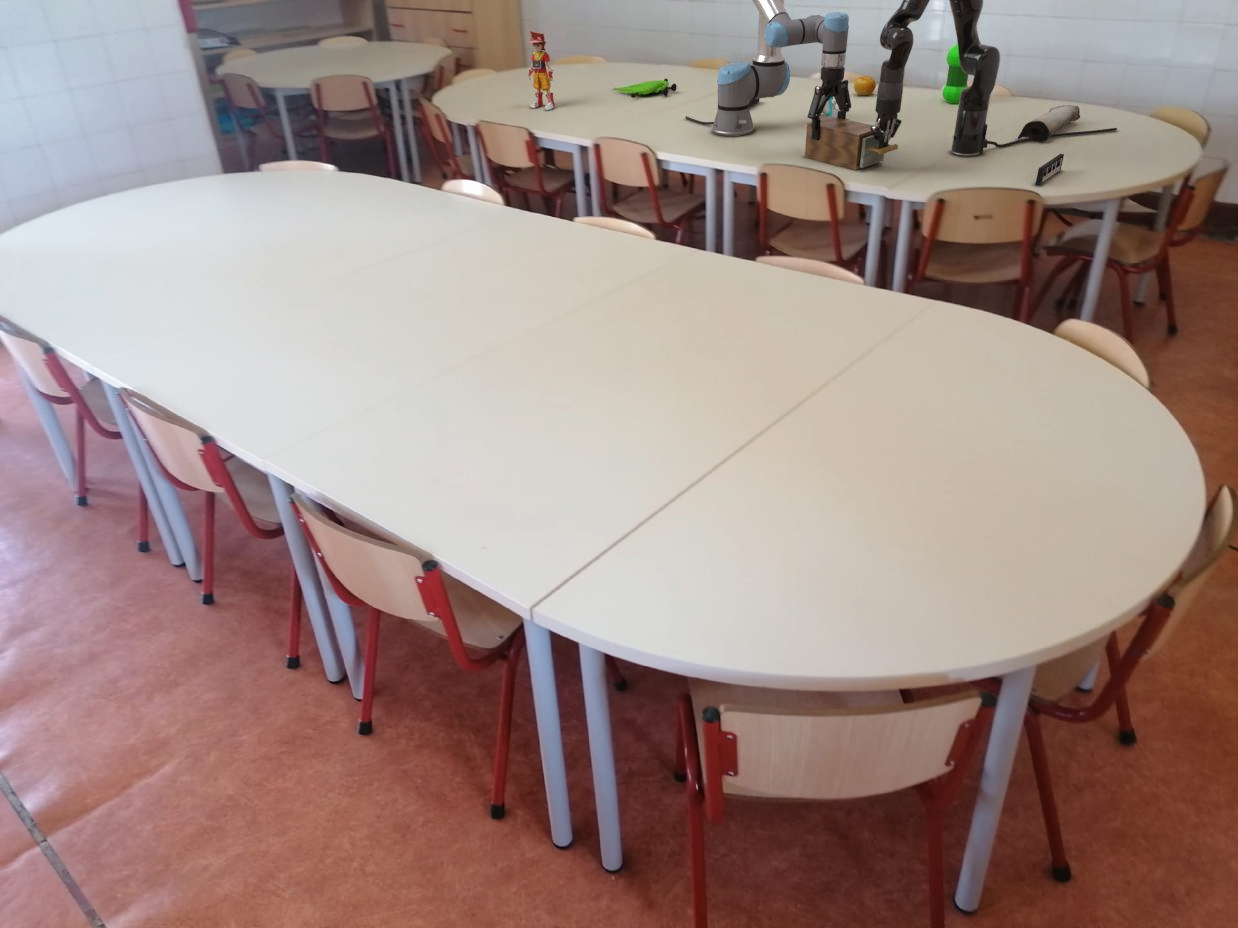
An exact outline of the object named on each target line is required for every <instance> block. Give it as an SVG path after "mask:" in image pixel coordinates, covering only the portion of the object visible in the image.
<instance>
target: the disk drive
mask: <svg viewBox="0 0 1238 928" xmlns="http://www.w3.org/2000/svg"><path fill="white" fill-rule="evenodd" d="M759 102H760V99H753V100H749V108H751V107H753V106H755V105H757V104H758V103H759Z"/></svg>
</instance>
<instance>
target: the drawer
mask: <svg viewBox="0 0 1238 928" xmlns="http://www.w3.org/2000/svg"><path fill="white" fill-rule="evenodd" d="M878 149H879V141H878V140H875V138H874V136H873V134H870V135H867V136H864V137H861V141H860V151H859V161H858V164H860V167H861V169H865V168H867V167H869V166H872V165H875V164H878V163H881V162H883V161H884V157H885V154H886V153H890V152H893V151H896V150H898V149H899V144H898V143H894V144H892V143H891V144H890V143H888V146H887V147H884V148H881V149H879V150H878ZM884 153H885V154H884Z"/></svg>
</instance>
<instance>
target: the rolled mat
mask: <svg viewBox="0 0 1238 928" xmlns="http://www.w3.org/2000/svg"><path fill="white" fill-rule="evenodd" d="M1080 113H1081V112H1080V107H1079V106H1078V105H1072V104H1065V105H1064V104H1063V105H1059V106H1053V107H1051V108H1050V109H1049V110H1048V112H1046V113H1044V114H1041V115H1039V116H1037V117H1035V118H1033V119H1032V120H1030V121H1029V122H1027V123H1025V124H1024V125H1023V127H1022V129H1021V131H1020V133H1019V134H1018V136H1017V140H1021V139H1023V138H1031V141H1034V142H1039V143H1044V142H1047V141H1048V139H1049V137H1050V136H1052V135H1053V134H1055V133H1056V132H1057V131H1058V130H1060V128H1062V127H1063V126H1065V124H1066V123H1071V122H1077V121H1079V119H1080V118H1081V115H1080ZM1050 138H1051V137H1050Z"/></svg>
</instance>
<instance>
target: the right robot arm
mask: <svg viewBox="0 0 1238 928" xmlns="http://www.w3.org/2000/svg"><path fill="white" fill-rule="evenodd" d="M930 2H931V0H902V2H901V4H900V5H899V7H898V8H897V9H896V10H895V12H894V13H893V14H892V15H891V16H890V18H889V19H888V20H887V22H886V23H885V24H884V26H883V28H882V30H881V32H880V35H879V43H880V46H881V47H882V48H883V49H885V50H887V51H890V52H891V53H890V56H889V58H887V59H885V60H884V61H882V63H881V67H880V74H879V82H878V86H877V91H876V92H877V94H876V102H875V113H876V114H877V116H876V119H875V123H874V126H871V127H870V129H871V131H872V134H873V136H874V138H875V140H878V141H879V149H881V148H884V147H887V146H888V144H889V142H890V141H891V139H894V137H895V136H896V134H897V132H898V130H899V128H900V126H901V124H902V122H903V121H902V119H899V118H898V114H899V113H900V112H901V108H902V102H903V101H902V100H903V93H904V80H905V79H904V78H905V71H906V65H907V63H908V60H909V57H910V54H911V52H912V49H913V46H914V33H913V31H912V29H911V28H910V27H908V26H910V24H911V23H914V22H917V21H919V20H920V19H921V18H922V16H923V14H924V12H925V11H926V8H927V7H928V5H929V3H930ZM948 2H949V6H950V11H951V15H952V18H953V24H954V30H955V35H956V39H957V41H956V44H957V43H958V53H959V62H960V66H961V69H962V71H963V72H964V73H966V74H968V76H972V77H973V80H972V84H971V85H968V87H965V88H963V89H962V90H961V93H960V100H959V103H958V106H957V113H956V120H955V126H954V132H953V134H952V145H951V149H950V153H951V154H953V155H955V156H958V157H959V156H960V157H975V156H979V155H983V154H984V149H987V148H988V145H993V146H995V148H1006V147H1010V146H1013V145H1017V144H1021V143H1026V142H1031V141H1032V140H1031V138H1029V137H1025V138H1021V139H1017V140H1014V141H1010V142H1007V143H1002V144H1001V143H998V142H997V141H992V140H989V139H987V138H986V136H987V131H988V124H987V117H988V113H989V105H990V100H991V95H992V93H993V91H994V89H995V86H996V82H997V76H998V73H999V68H1000V63H1001V52H1000V50H999V48H997V46H993V45H987V44H982V43H981V41H980V36H979V31H978V22H979V19H980V17H981V14H982V11H983V7H984V0H948ZM1116 131H1118V128H1117V127H1112V128H1111V127H1110V128H1103V129H1095V130H1084V131H1083V130H1081V131H1073V132H1071V131H1070V132H1061V133H1053V135H1052V136H1050V137H1049V138H1050V139H1051V138H1057V137H1067V136H1079V135H1093V134H1098V133H1109V132H1116ZM1049 138H1048V139H1049ZM879 149H878V150H879ZM885 154H886V153H884V155H885Z"/></svg>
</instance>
